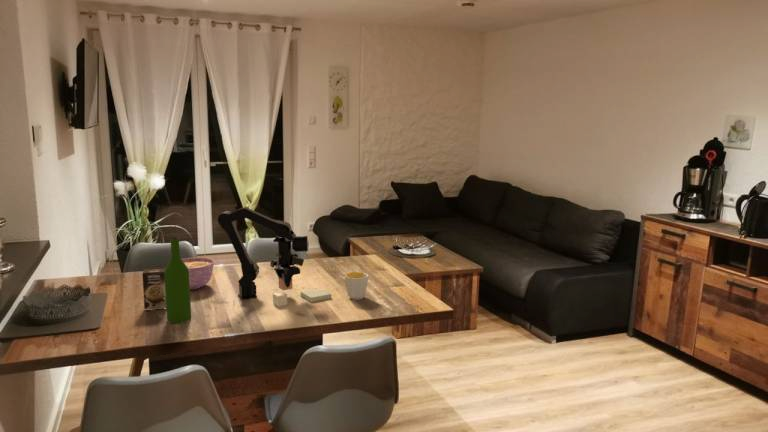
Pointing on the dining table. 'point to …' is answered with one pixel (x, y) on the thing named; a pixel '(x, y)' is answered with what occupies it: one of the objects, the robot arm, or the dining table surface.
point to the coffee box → (154, 288)
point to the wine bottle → (177, 287)
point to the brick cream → (280, 299)
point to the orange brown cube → (282, 284)
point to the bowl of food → (199, 271)
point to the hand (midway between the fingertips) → (285, 285)
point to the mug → (356, 285)
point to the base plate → (315, 295)
